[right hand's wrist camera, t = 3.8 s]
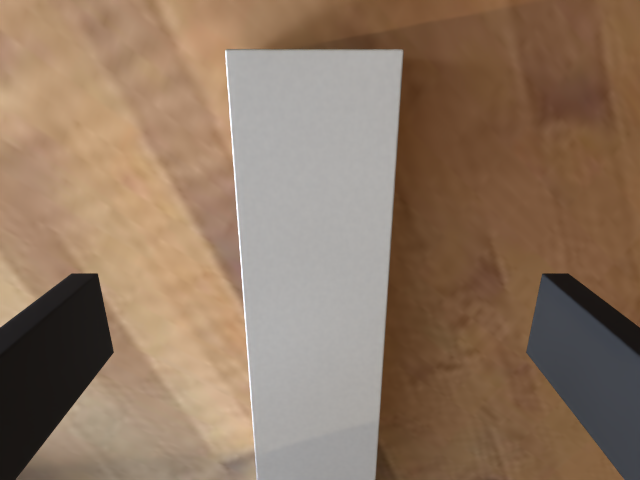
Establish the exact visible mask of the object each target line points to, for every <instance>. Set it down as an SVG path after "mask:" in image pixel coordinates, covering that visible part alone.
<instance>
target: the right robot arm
mask: <svg viewBox="0 0 640 480" xmlns="http://www.w3.org/2000/svg"><path fill="white" fill-rule="evenodd" d="M113 353H114V351H113V347H112V342H111V337H110V332H109V327H108V322H107V317H106V312H105V307H104V302H103V297H102V292H101V287H100V282H99V278H98V274H71V275H69V276H68V277H67V278H65V279H64V280H63V281H61V282H60V283H59V284H57V285H56V286H55V287H53V288H52V289H51V290H49V291H48V292H47V293H45V294H44V295H43V296H41V297H40V298H39V299H38V300H36V301H35V302H34V303H32V304H31V305H30V306H28V307H27V308H26V309H24V310H23V311H22V312H20V313H19V314H18V315H16V316H15V317H14V318H12V319H11V320H10V321H8V322H7V323H6V324H5V325H3V326H2V327H1V328H0V480H16V478H17V477H18V476H19V474H20V473H21V472H22V470H23V469H24V468H25V467H26V465H27V464H28V463H29V461H30V460H31V459H32V458H33V456H34V455H35V454H36V452H37V451H38V450H39V448H40V447H41V446H42V445H43V443H44V442H45V441H46V439H47V438H48V437H49V436H50V434H51V433H52V432H53V430H54V429H55V428H56V426H57V425H58V424H59V423H60V421H61V420H62V419H63V417H64V416H65V415H66V414H67V412H68V411H69V410H70V408H71V407H72V406H73V404H74V403H75V402H76V401H77V399H78V398H79V397H80V395H81V394H82V393H83V392H84V390H85V389H86V388H87V386H88V385H89V384H90V382H91V381H92V380H93V379H94V377H95V376H96V375H97V373H98V372H99V371H100V370H101V368H102V367H103V366H104V364H105V363H106V362H107V360H108V359H109V358H110V357H111V355H112V354H113ZM526 353H527V354H528V355H529V357H530V358H531V359H532V360H533V362H534V363H535V364H536V366H537V367H538V368H539V370H540V371H541V372H542V373H543V375H544V376H545V377H546V379H547V380H548V381H549V382H550V384H551V385H552V386H553V388H554V389H555V390H556V392H557V393H558V394H559V395H560V397H561V398H562V399H563V401H564V402H565V403H566V404H567V406H568V407H569V408H570V410H571V411H572V412H573V414H574V415H575V416H576V417H577V419H578V420H579V421H580V423H581V424H582V425H583V426H584V428H585V429H586V430H587V432H588V433H589V434H590V436H591V437H592V438H593V439H594V441H595V442H596V443H597V445H598V446H599V447H600V448H601V450H602V451H603V452H604V454H605V455H606V456H607V458H608V459H609V460H610V461H611V463H612V464H613V465H614V467H615V468H616V469H617V470H618V472H619V473H620V474H621V476H622V477H623V478H624V480H640V328H639V327H638V326H637V325H635V324H634V323H633V322H632V321H630V320H629V319H628V318H626V317H625V316H624V315H622V314H621V313H620V312H618V311H617V310H616V309H614V308H613V307H612V306H610V305H609V304H608V303H606V302H605V301H604V300H602V299H601V298H600V297H599V296H597V295H596V294H595V293H593V292H592V291H591V290H589V289H588V288H587V287H585V286H584V285H583V284H581V283H580V282H579V281H577V280H576V279H575V278H573V277H572V276H571V275H569V274H542V278H541V282H540V287H539V292H538V297H537V302H536V307H535V312H534V317H533V322H532V327H531V332H530V337H529V342H528V347H527V351H526Z"/></svg>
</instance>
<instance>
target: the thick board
mask: <svg viewBox="0 0 640 480" xmlns="http://www.w3.org/2000/svg"><path fill="white" fill-rule="evenodd" d="M403 52H404V51H403V50H402V49H226V50H225V56H226V69H227V83H228V96H229V110H230V123H231V137H232V150H233V164H234V177H235V191H236V204H237V218H238V231H239V245H240V258H241V272H242V285H243V299H244V312H245V326H246V339H247V353H248V366H249V380H250V393H251V407H252V420H253V434H254V447H255V461H256V474H257V480H376V465H377V450H378V434H379V419H380V404H381V389H382V373H383V358H384V343H385V327H386V312H387V297H388V282H389V266H390V251H391V236H392V220H393V205H394V190H395V175H396V159H397V144H398V129H399V113H400V98H401V83H402V67H403Z"/></svg>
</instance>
